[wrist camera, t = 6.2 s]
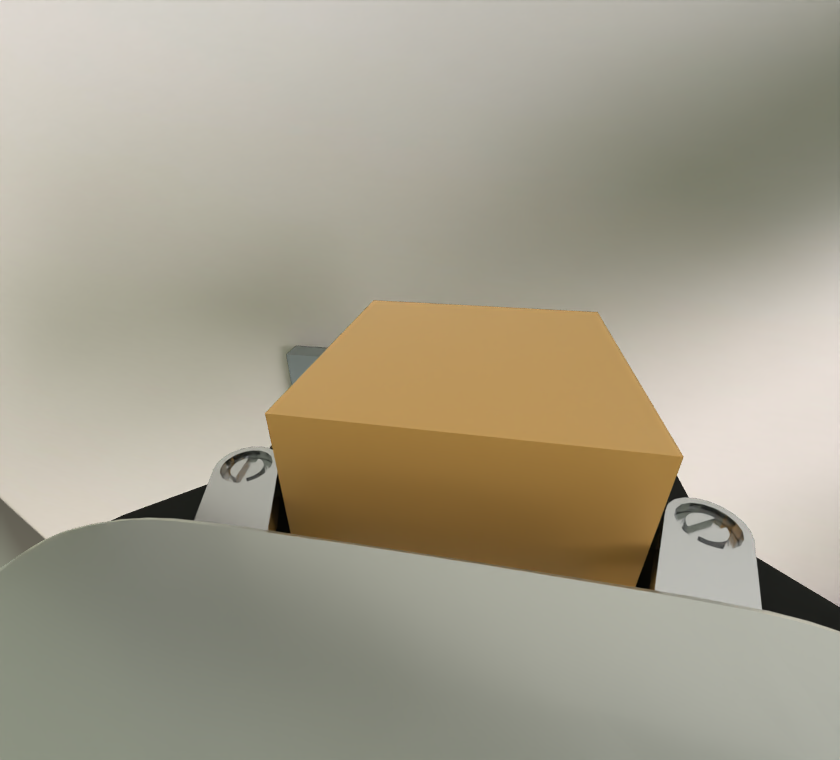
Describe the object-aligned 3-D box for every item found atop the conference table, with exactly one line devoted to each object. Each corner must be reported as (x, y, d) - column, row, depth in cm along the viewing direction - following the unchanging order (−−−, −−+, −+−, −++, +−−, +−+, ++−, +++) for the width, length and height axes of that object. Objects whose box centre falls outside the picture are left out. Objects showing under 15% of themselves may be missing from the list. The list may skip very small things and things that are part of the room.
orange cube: (373, 300, 12) (265, 412, 6) (597, 311, 11) (683, 457, 5) (383, 467, 14) (313, 639, 9) (561, 488, 13) (594, 695, 8)
